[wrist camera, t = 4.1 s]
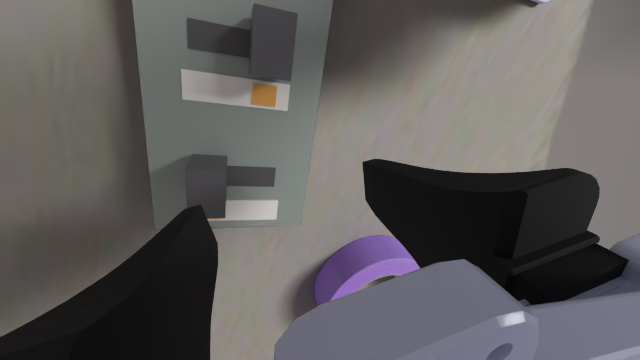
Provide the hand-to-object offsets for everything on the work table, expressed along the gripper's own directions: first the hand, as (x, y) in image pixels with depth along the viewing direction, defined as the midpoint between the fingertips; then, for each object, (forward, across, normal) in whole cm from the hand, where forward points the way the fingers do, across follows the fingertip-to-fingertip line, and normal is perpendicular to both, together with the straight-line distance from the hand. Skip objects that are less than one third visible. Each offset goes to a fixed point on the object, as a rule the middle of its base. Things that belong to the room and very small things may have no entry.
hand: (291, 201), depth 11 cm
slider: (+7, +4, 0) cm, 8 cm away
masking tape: (+10, -7, +18) cm, 21 cm away
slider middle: (+7, -1, -6) cm, 9 cm away
